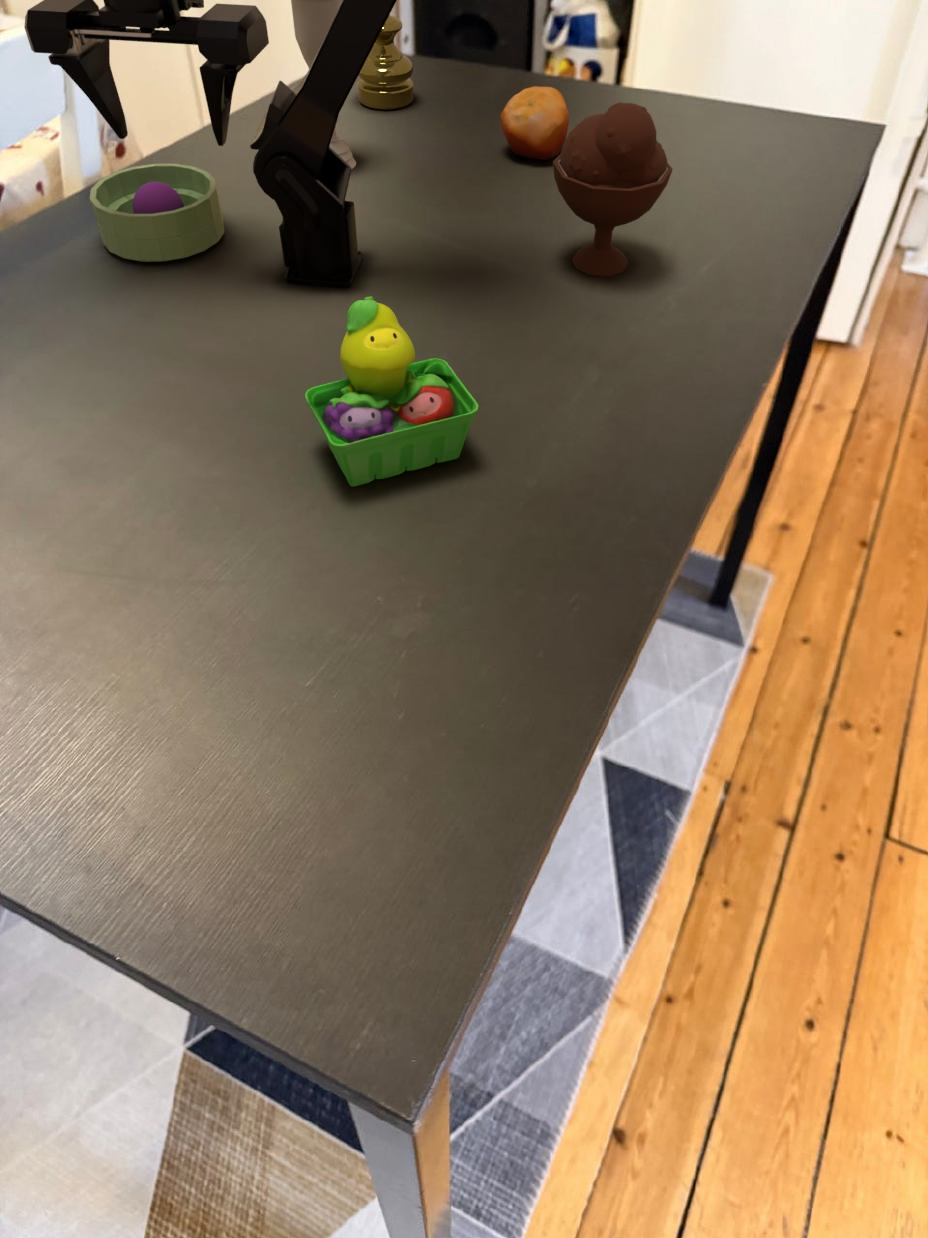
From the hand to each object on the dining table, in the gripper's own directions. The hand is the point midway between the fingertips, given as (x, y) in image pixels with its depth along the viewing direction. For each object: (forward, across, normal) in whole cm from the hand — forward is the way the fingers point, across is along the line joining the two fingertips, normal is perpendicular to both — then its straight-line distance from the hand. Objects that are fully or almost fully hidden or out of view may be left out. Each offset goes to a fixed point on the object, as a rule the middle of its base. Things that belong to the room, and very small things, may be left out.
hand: (172, 140), depth 79 cm
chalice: (+12, -7, -27) cm, 30 cm away
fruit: (+12, -30, -34) cm, 47 cm away
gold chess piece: (+12, -8, -48) cm, 50 cm away
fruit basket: (+12, -25, +25) cm, 37 cm away
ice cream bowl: (+12, -39, -8) cm, 42 cm away
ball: (+9, +6, -6) cm, 12 cm away
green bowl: (+12, +6, -6) cm, 14 cm away
